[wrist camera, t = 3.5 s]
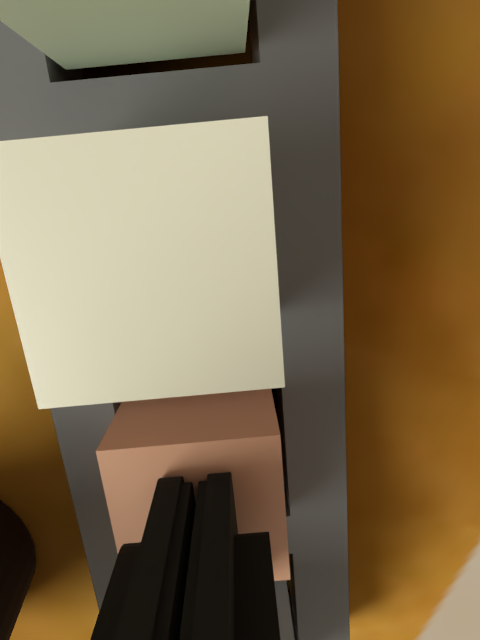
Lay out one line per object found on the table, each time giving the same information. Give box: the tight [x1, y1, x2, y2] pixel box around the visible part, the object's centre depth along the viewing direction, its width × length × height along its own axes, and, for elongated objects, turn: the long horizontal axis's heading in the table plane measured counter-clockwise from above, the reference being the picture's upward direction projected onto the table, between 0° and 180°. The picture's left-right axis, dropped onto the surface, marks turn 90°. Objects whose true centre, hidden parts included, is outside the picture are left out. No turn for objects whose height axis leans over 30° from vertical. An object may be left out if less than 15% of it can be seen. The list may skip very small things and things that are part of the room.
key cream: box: [0, 116, 285, 409], centre depth 8 cm, size 4×4×4 cm
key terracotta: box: [96, 389, 291, 581], centre depth 12 cm, size 4×4×4 cm
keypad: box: [0, 0, 350, 640], centre depth 12 cm, size 26×8×2 cm, turn 5°
